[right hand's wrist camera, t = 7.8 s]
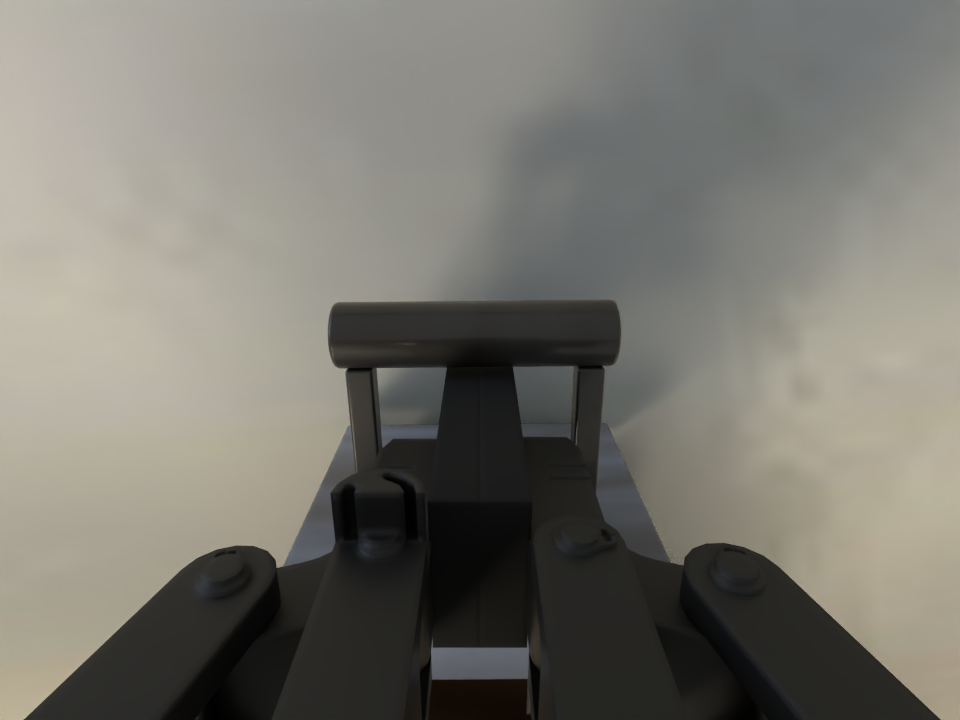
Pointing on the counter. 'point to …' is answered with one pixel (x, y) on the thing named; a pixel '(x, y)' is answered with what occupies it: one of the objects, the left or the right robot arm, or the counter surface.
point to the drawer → (437, 343)
